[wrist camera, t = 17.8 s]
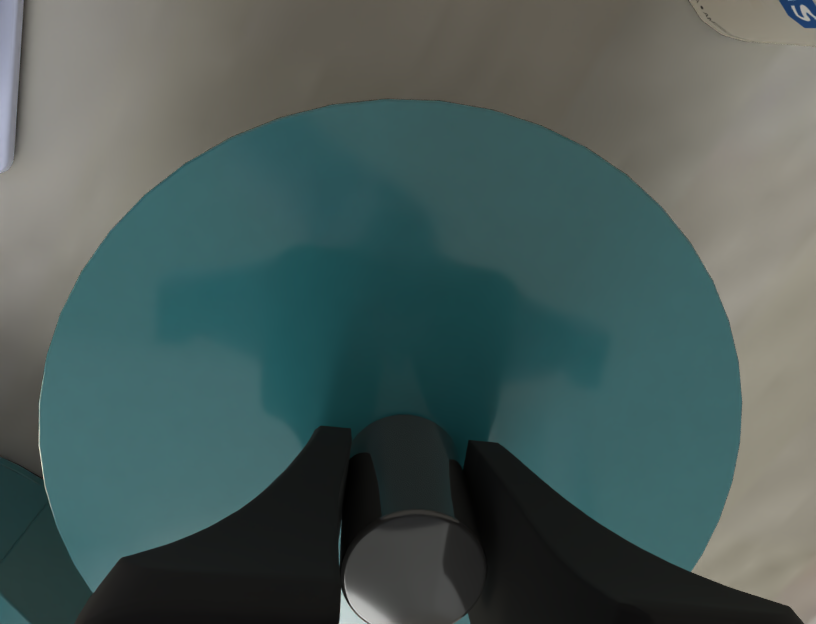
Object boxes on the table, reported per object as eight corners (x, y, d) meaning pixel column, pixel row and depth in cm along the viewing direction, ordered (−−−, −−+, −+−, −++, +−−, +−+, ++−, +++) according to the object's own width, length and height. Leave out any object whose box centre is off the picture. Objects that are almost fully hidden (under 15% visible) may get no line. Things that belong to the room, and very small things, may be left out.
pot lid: (95, 14, 12) (-54, -36, 8) (817, 190, 14) (1022, 231, 10) (36, 655, 16) (-85, 860, 12) (603, 726, 18) (681, 926, 14)
